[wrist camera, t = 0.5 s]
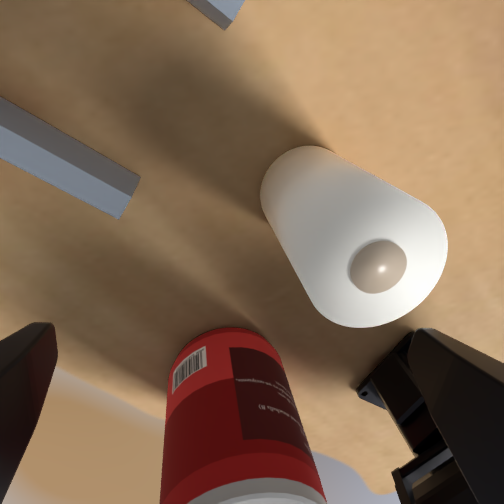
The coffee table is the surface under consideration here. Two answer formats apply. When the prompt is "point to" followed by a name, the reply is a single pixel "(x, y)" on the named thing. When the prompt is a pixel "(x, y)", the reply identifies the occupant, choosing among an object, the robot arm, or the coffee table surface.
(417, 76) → the coffee table surface
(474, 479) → the robot arm
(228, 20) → the bracket
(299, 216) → the roll
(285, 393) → the canned food
